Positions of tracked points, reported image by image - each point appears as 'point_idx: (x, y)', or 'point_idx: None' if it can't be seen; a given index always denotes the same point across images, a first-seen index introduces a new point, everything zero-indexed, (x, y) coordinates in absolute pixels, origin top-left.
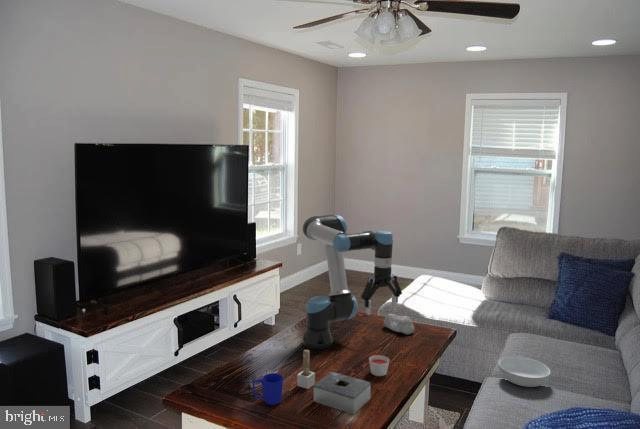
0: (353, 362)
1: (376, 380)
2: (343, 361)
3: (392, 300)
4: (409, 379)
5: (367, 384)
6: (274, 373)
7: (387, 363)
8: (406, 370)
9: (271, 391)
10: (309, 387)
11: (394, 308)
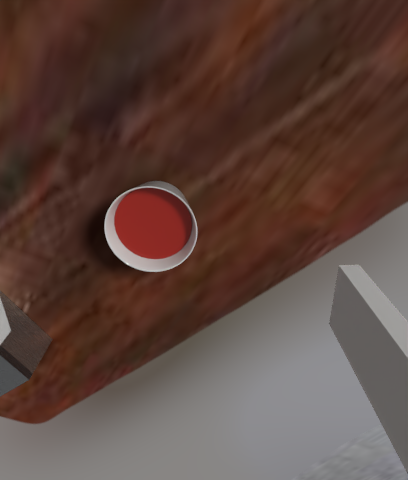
0: (97, 73)
1: None
2: (53, 40)
3: (394, 362)
4: (233, 289)
5: (13, 385)
6: None
7: (170, 266)
8: (268, 232)
9: None
10: None
11: (340, 336)
